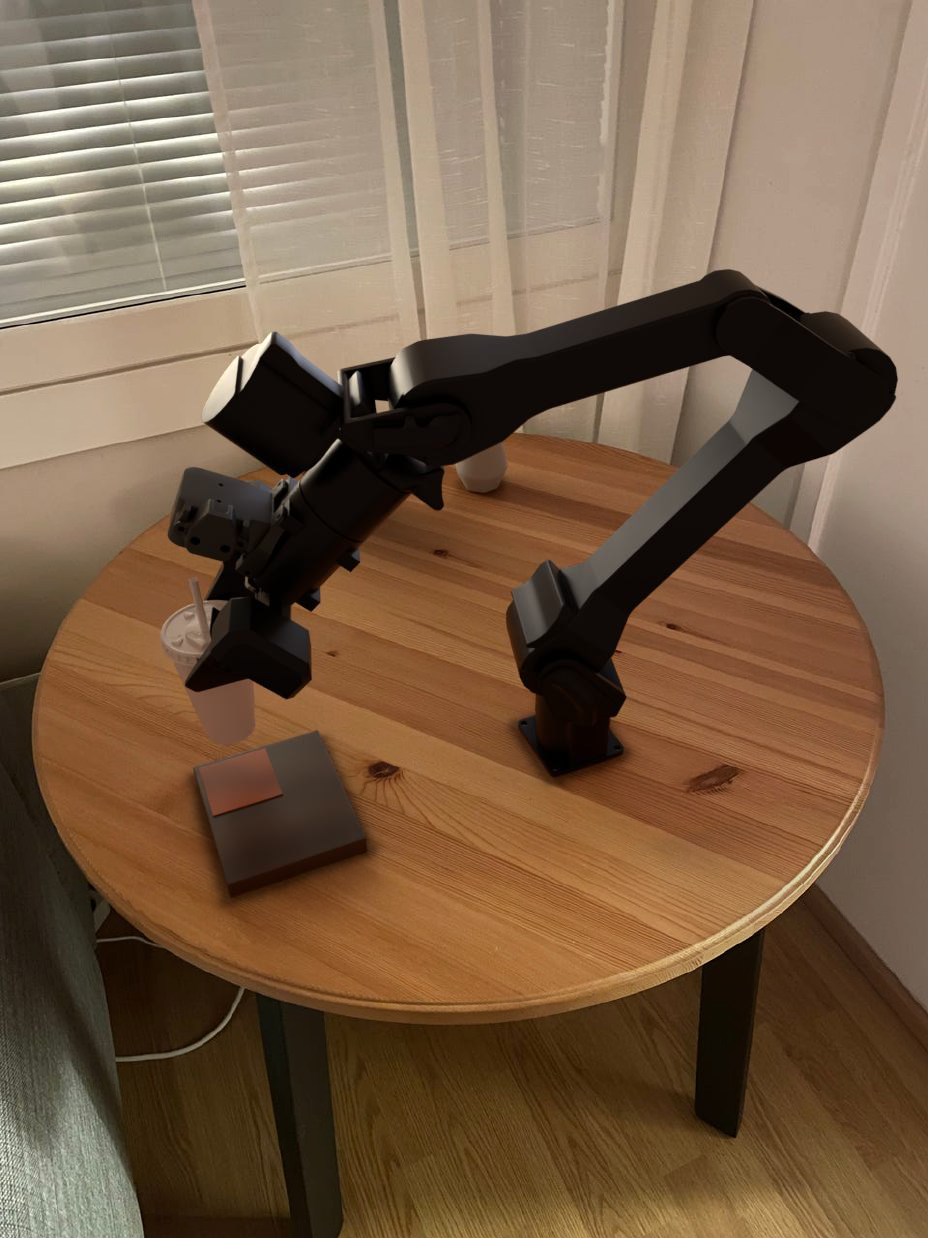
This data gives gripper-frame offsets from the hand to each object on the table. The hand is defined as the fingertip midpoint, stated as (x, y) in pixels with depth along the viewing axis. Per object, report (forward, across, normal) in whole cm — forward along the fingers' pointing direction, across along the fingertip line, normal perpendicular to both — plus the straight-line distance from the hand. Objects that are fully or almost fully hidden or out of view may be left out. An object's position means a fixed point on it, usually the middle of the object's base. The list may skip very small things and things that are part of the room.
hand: (194, 656), depth 71 cm
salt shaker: (-10, -41, +28) cm, 50 cm away
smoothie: (+4, 0, +6) cm, 7 cm away
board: (+6, +4, +12) cm, 14 cm away
